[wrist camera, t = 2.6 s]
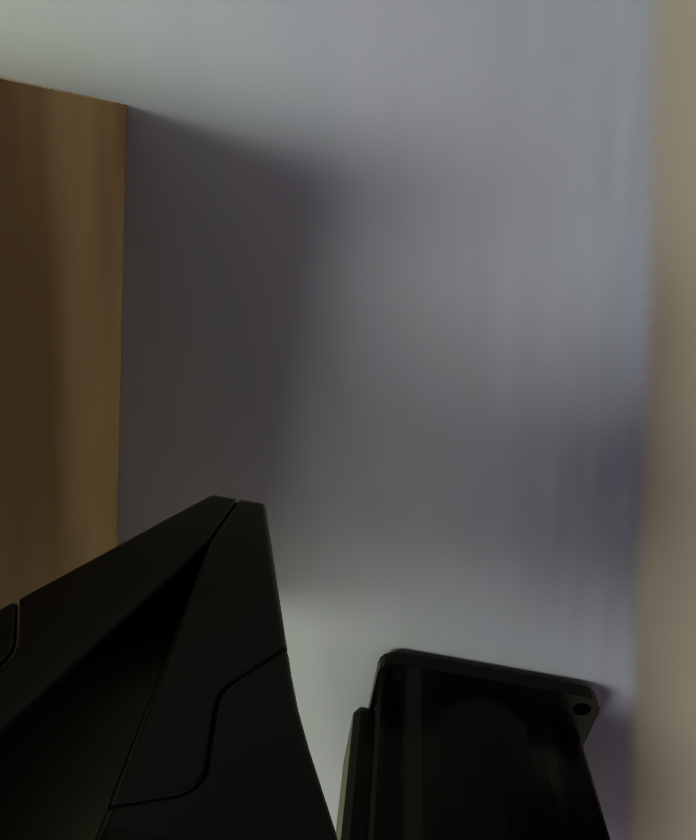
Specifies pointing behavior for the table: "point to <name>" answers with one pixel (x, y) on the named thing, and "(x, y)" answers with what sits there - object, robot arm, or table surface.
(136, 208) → the table surface
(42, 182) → the tan wooden block
